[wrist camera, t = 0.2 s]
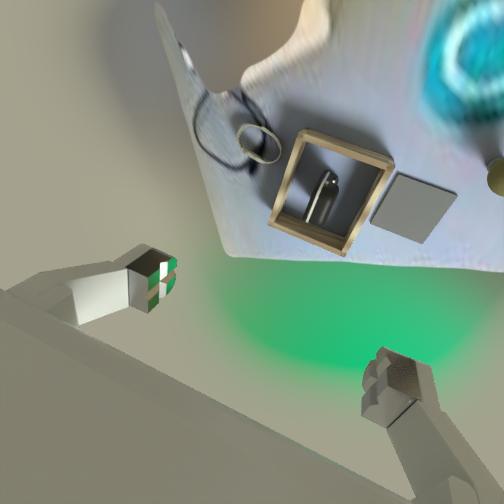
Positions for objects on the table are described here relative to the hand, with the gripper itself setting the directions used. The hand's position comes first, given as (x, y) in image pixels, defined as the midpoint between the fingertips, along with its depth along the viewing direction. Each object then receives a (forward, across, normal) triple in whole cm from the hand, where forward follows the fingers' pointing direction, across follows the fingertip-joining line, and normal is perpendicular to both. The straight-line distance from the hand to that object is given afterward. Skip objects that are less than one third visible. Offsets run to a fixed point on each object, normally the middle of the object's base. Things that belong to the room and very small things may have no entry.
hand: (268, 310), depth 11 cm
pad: (+47, -15, +8) cm, 50 cm away
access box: (+47, 0, +10) cm, 48 cm away
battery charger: (+47, 0, +10) cm, 48 cm away
